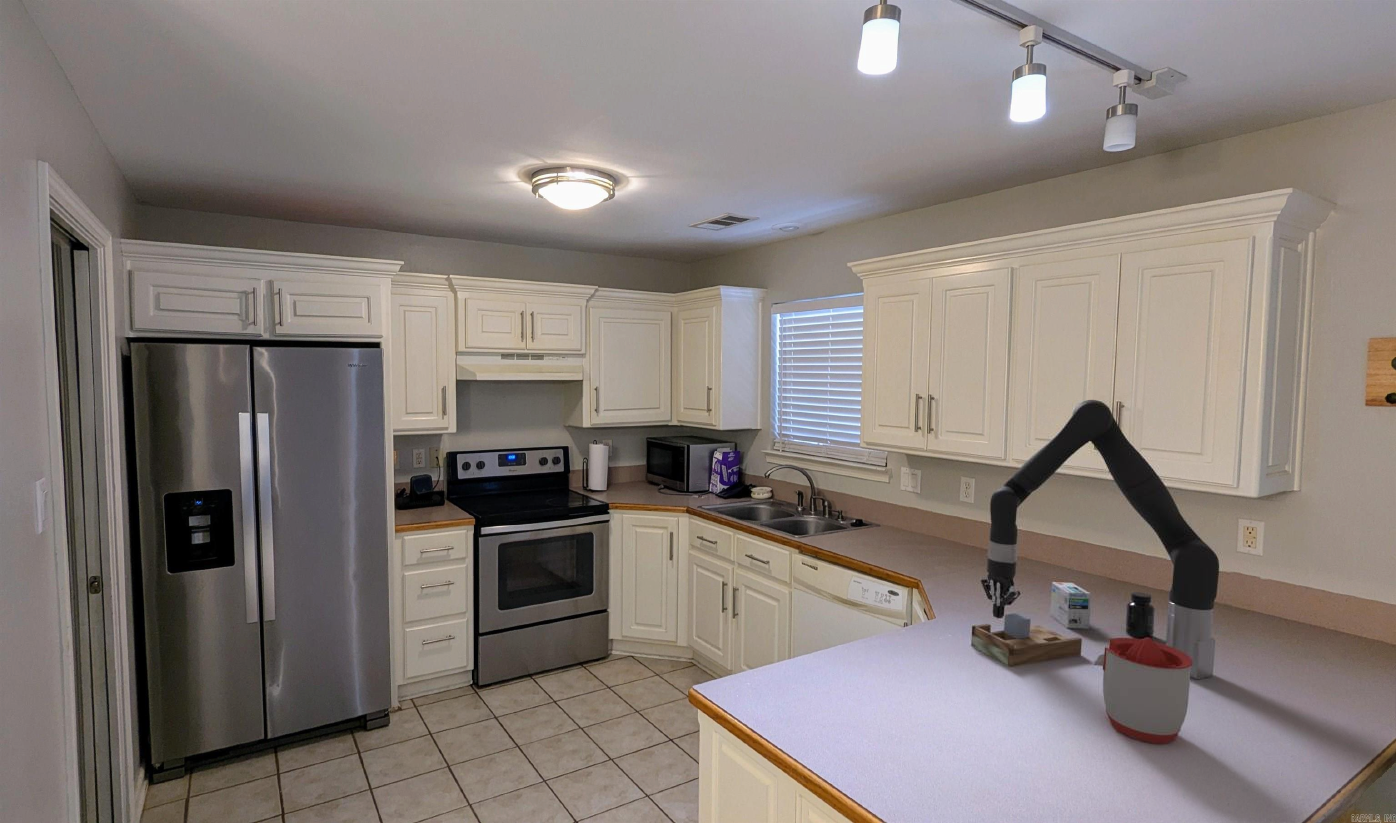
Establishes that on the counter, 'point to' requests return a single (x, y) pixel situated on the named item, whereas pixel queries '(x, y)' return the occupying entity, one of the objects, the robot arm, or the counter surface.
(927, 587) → the counter surface
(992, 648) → the board
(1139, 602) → the supplement bottle
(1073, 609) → the light bulb box
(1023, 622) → the block
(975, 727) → the counter surface
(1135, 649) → the citrus juicer
